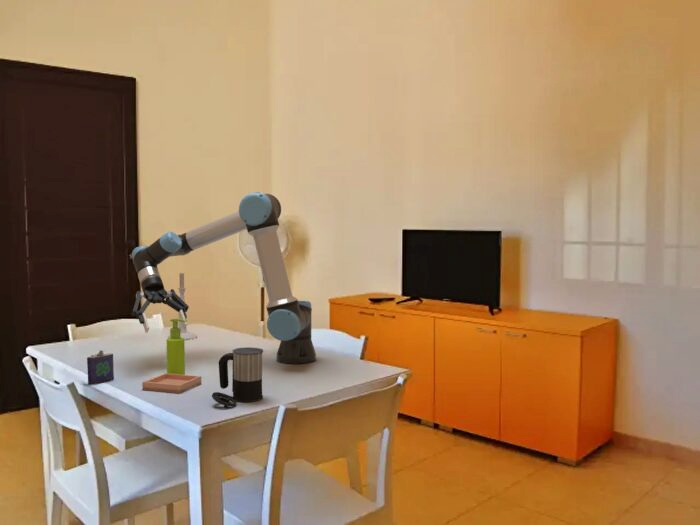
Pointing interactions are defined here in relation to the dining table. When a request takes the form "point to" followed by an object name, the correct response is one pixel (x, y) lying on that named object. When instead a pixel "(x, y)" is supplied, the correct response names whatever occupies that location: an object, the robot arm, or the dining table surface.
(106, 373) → the flask
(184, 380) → the holder dish
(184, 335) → the candlestick
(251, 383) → the milk frother
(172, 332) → the soap dispenser
